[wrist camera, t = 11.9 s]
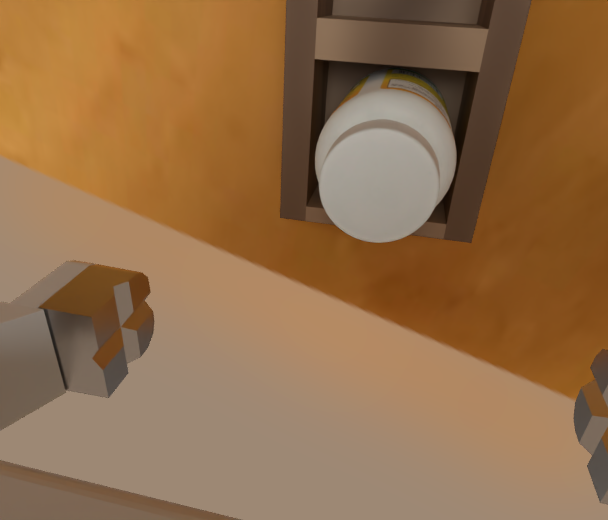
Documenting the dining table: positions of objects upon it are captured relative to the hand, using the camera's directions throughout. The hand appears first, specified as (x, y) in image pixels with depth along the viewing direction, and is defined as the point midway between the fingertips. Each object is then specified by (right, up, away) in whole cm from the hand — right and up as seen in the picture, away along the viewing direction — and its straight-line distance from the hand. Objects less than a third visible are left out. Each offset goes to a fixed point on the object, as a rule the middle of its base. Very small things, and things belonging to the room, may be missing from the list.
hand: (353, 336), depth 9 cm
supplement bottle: (+4, +8, +15) cm, 18 cm away
